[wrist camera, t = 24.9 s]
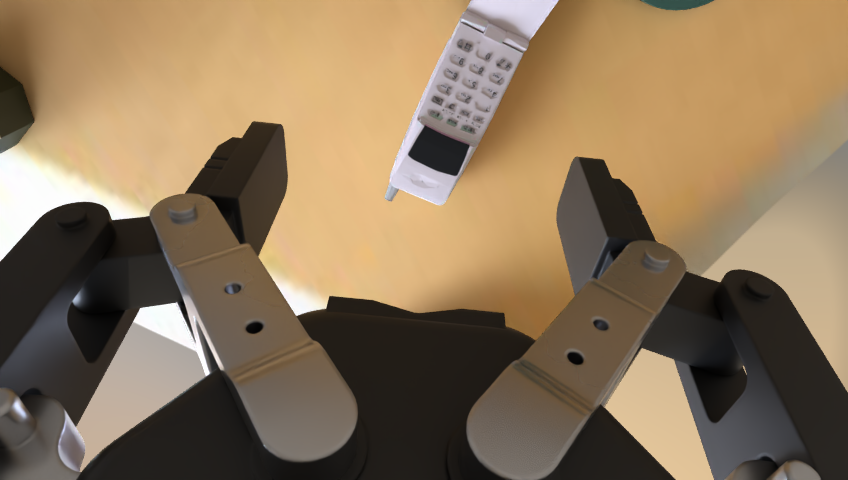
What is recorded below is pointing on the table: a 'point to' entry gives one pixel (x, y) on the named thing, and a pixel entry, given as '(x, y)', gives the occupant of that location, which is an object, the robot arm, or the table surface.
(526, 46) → the mobile phone
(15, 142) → the wine bottle
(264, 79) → the table surface
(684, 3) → the green pot lid
